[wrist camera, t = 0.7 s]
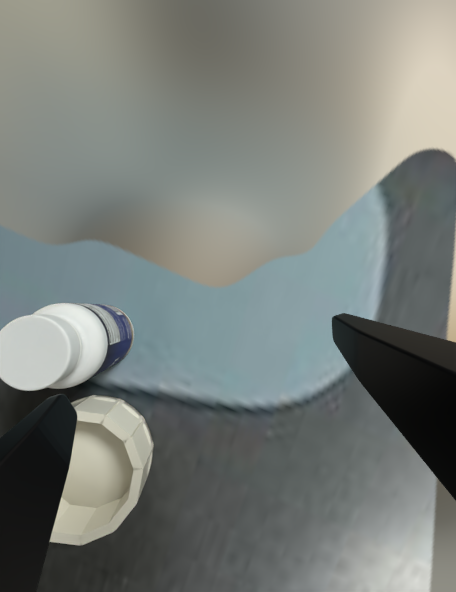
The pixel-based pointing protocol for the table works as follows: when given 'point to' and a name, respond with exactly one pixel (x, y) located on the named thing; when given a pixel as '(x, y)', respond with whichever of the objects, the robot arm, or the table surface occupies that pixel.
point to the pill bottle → (63, 345)
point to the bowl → (103, 469)
